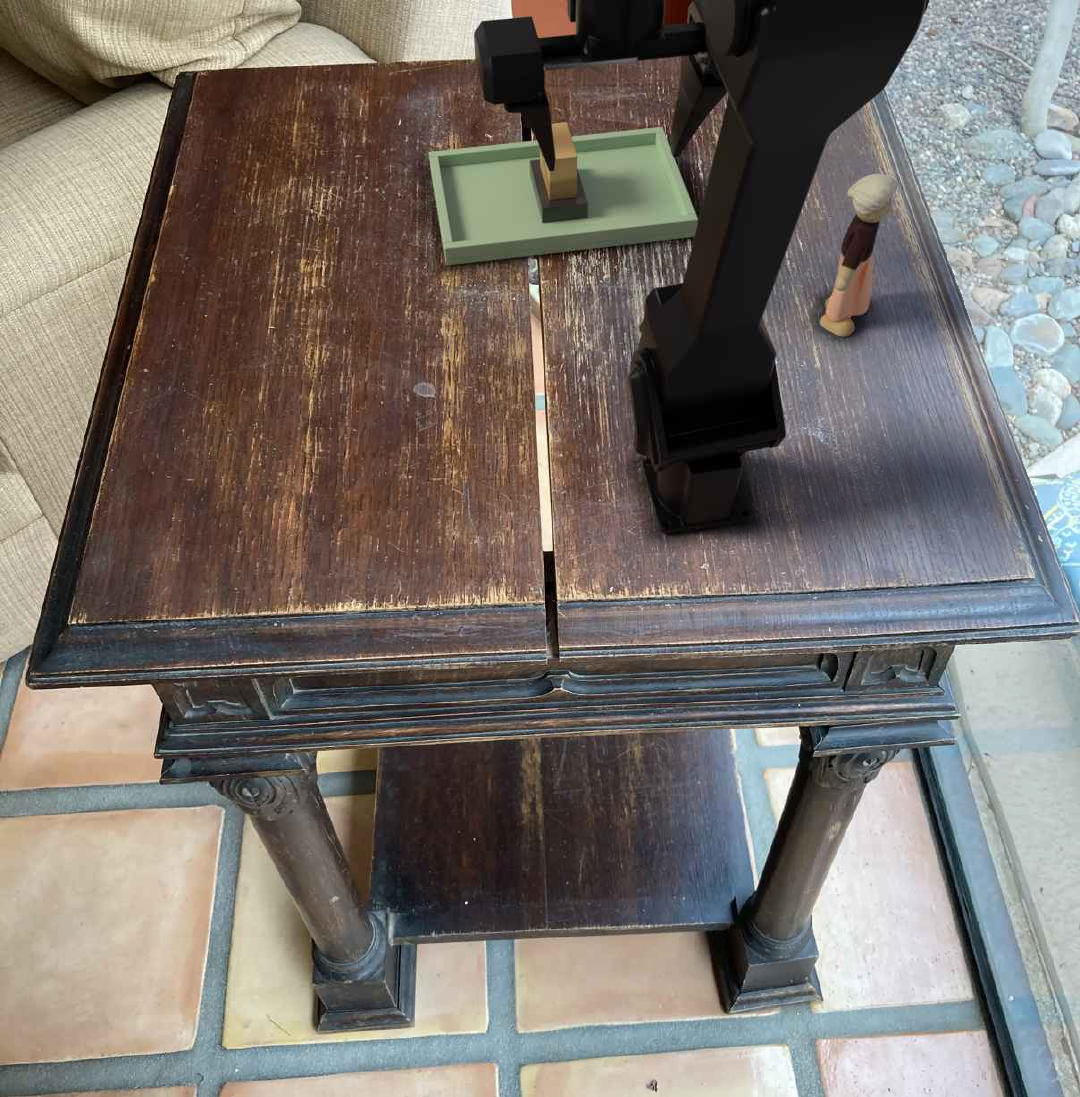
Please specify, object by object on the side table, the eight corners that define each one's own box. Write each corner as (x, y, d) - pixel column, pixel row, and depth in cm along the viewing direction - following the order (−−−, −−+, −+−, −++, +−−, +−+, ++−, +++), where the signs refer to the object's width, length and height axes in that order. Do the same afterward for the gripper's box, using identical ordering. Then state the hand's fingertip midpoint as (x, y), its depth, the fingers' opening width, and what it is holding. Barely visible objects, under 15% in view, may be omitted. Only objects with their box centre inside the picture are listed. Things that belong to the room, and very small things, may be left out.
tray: (696, 236, 90) (698, 219, 88) (446, 265, 88) (444, 248, 87) (660, 143, 98) (662, 126, 96) (430, 169, 96) (428, 151, 95)
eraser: (587, 218, 91) (589, 162, 86) (542, 223, 90) (541, 167, 86) (573, 169, 95) (574, 114, 90) (529, 174, 94) (528, 119, 90)
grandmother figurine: (864, 348, 82) (908, 212, 72) (814, 342, 82) (851, 206, 72) (866, 283, 86) (908, 146, 76) (819, 278, 87) (854, 141, 76)
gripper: (738, -135, 69) (710, 86, 82) (456, -110, 68) (472, 111, 80) (787, -54, 63) (748, 172, 75) (477, -25, 61) (491, 201, 74)
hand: (612, 161), depth 77 cm, fingers open, 9 cm apart
